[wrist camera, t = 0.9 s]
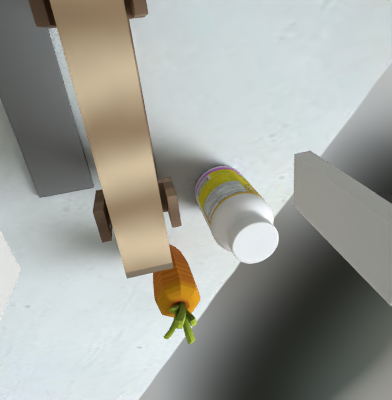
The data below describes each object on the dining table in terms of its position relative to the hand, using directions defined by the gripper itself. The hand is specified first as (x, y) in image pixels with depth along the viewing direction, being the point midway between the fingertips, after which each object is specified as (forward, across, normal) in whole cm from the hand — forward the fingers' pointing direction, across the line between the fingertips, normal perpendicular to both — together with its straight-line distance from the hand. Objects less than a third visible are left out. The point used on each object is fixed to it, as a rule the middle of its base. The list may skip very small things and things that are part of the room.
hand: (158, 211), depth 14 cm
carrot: (+23, 0, -19) cm, 30 cm away
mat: (+23, -10, +1) cm, 25 cm away
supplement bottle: (+23, +8, -12) cm, 28 cm away
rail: (+14, -2, +1) cm, 14 cm away
